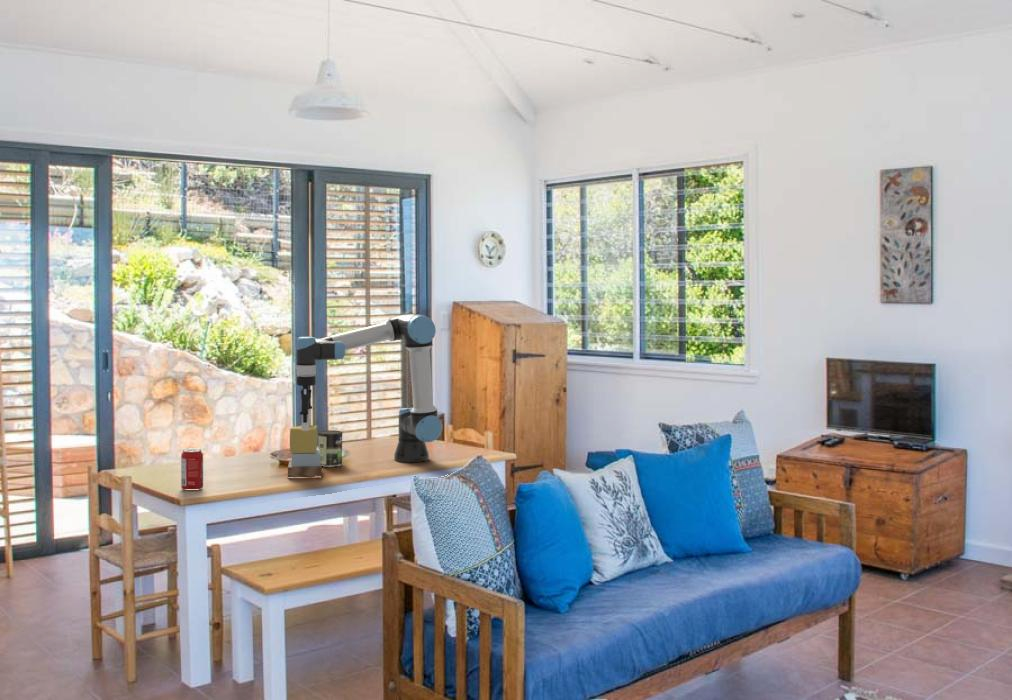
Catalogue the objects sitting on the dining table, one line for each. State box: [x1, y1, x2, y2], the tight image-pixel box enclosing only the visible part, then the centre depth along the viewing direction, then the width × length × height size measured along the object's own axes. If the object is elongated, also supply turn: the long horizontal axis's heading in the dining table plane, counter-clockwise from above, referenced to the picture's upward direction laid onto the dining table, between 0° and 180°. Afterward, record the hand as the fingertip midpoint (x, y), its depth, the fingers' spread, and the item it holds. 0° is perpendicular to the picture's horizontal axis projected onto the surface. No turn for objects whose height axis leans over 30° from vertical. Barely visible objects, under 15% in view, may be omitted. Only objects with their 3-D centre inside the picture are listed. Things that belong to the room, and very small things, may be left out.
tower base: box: [287, 460, 323, 478], centre depth 410 cm, size 13×13×5 cm
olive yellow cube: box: [289, 424, 318, 454], centre depth 409 cm, size 10×11×10 cm
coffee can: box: [317, 429, 344, 468], centre depth 431 cm, size 10×10×14 cm
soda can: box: [180, 448, 204, 490], centre depth 379 cm, size 8×8×15 cm
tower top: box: [290, 448, 320, 467], centre depth 410 cm, size 11×11×5 cm
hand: (306, 427), depth 409 cm, fingers open, 13 cm apart
